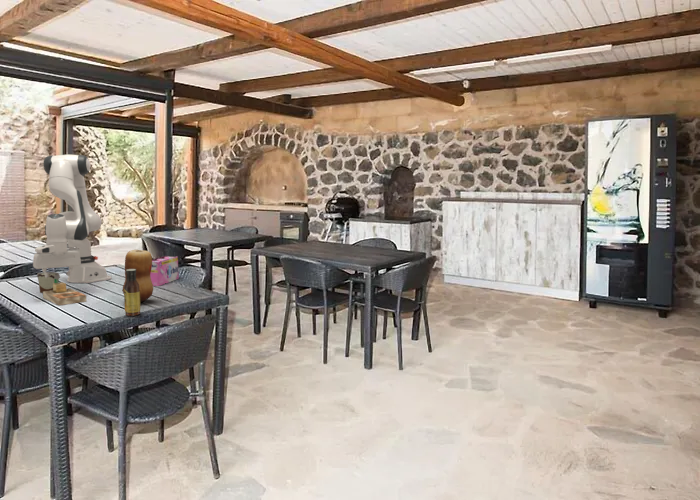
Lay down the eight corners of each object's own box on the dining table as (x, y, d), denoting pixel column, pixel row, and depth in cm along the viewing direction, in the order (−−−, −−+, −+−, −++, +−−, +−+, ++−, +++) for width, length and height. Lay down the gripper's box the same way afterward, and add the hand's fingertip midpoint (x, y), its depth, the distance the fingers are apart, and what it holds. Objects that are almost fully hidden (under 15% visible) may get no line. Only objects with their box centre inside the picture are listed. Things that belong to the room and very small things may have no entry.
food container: (66, 292, 262) (65, 273, 260) (56, 294, 256) (55, 275, 254) (48, 290, 266) (47, 271, 264) (37, 292, 260) (36, 273, 258)
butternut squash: (152, 305, 240) (150, 251, 237) (121, 306, 236) (119, 252, 233) (154, 298, 253) (153, 248, 250) (125, 299, 249) (123, 248, 246)
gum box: (167, 277, 306) (167, 255, 304) (180, 278, 305) (179, 255, 303) (145, 285, 283) (144, 261, 281) (158, 286, 282) (158, 261, 280)
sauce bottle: (127, 312, 225) (126, 268, 223) (142, 312, 226) (141, 268, 223) (122, 316, 219) (120, 270, 216) (137, 316, 220) (136, 270, 217)
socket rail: (69, 294, 258) (69, 287, 258) (86, 301, 244) (86, 294, 243) (43, 297, 249) (42, 291, 249) (58, 305, 235) (58, 298, 235)
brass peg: (63, 296, 254) (62, 282, 253) (66, 297, 251) (65, 283, 250) (53, 297, 250) (52, 283, 250) (56, 299, 247) (56, 284, 247)
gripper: (77, 246, 257) (78, 273, 258) (31, 248, 242) (32, 277, 243) (82, 247, 253) (83, 275, 254) (35, 249, 238) (36, 279, 239)
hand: (58, 276), depth 249 cm, fingers open, 8 cm apart
